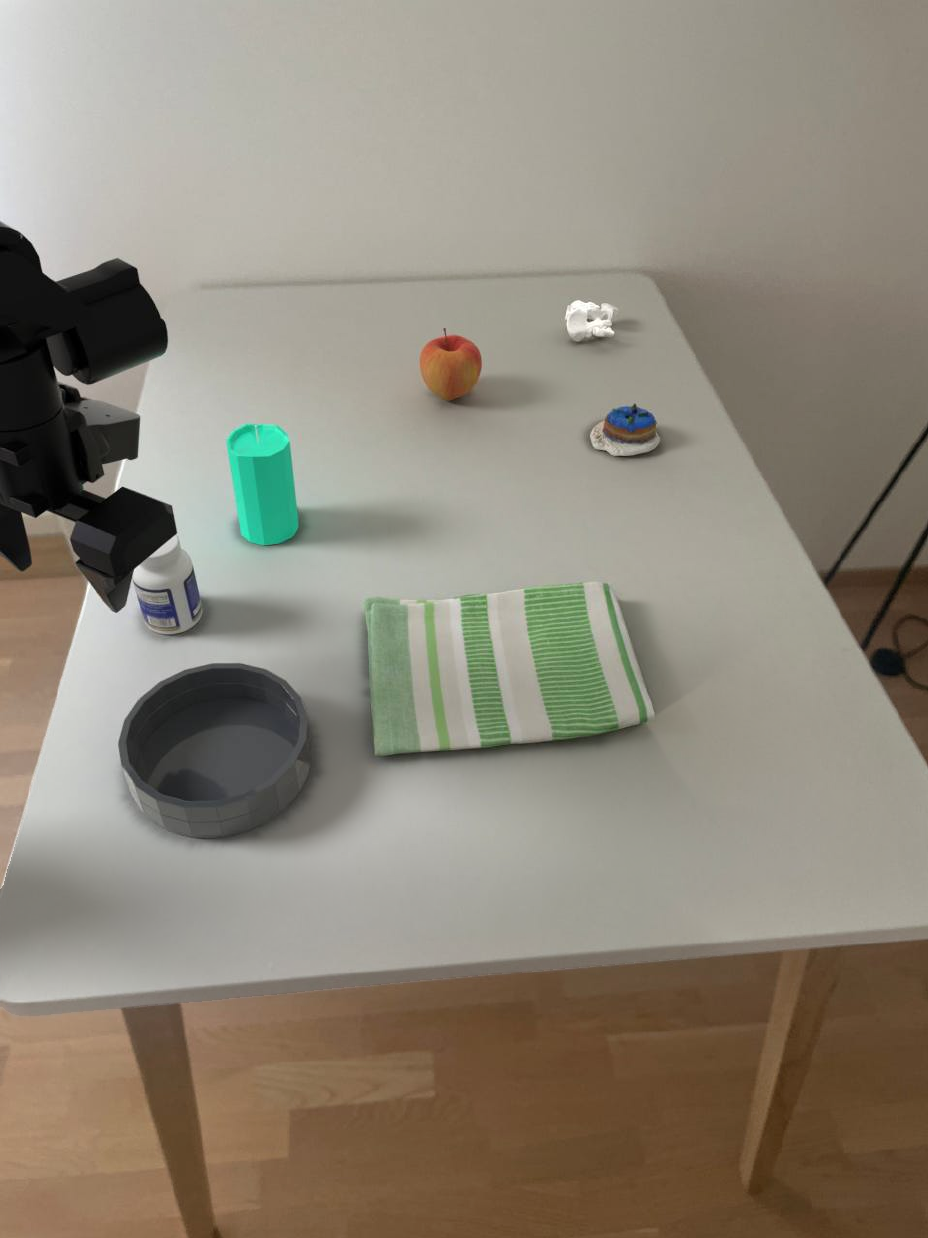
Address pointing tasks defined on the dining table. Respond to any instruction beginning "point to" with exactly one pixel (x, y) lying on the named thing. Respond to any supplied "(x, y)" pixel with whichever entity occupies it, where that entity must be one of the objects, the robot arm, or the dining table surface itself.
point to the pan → (216, 749)
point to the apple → (450, 366)
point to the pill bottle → (168, 589)
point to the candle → (263, 483)
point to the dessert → (626, 432)
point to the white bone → (582, 311)
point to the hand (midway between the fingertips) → (71, 587)
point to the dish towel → (501, 669)
